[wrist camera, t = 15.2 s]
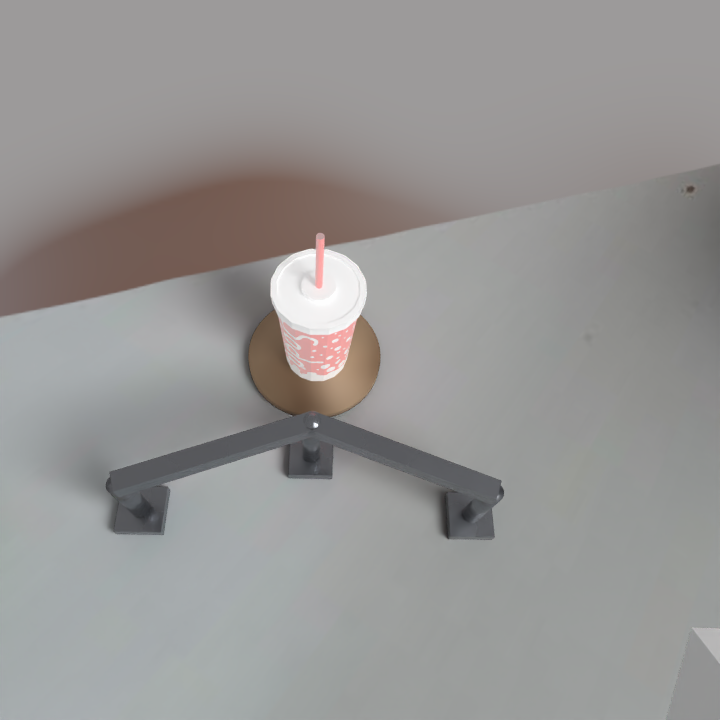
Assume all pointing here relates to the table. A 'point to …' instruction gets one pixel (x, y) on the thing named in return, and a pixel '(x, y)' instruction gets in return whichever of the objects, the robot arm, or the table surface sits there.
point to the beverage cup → (317, 309)
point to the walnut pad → (305, 394)
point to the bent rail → (303, 472)
